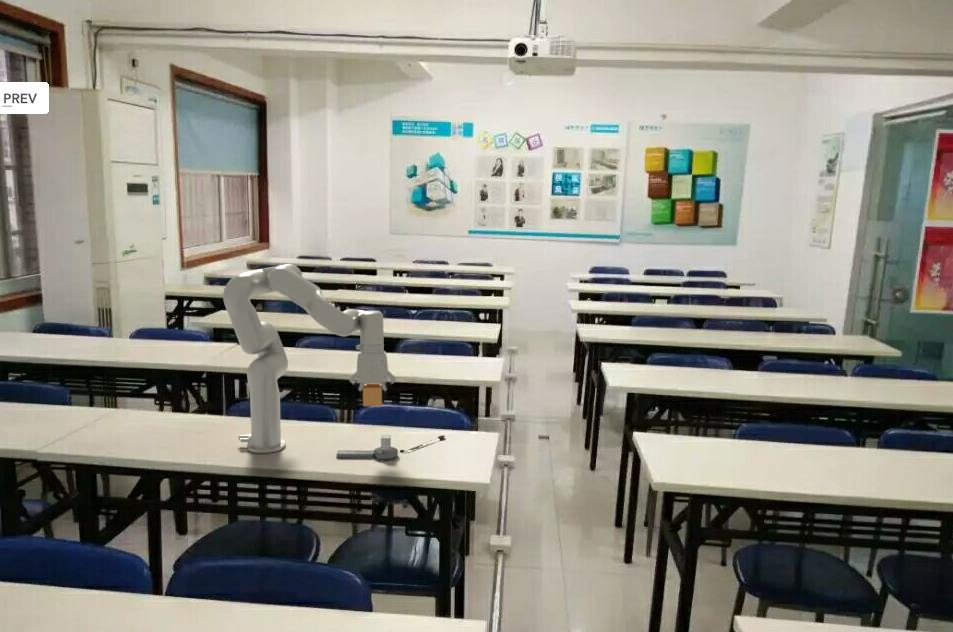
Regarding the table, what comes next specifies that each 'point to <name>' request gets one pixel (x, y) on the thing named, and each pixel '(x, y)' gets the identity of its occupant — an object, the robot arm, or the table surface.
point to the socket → (372, 395)
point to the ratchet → (379, 453)
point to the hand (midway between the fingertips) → (373, 400)
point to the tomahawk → (422, 445)
